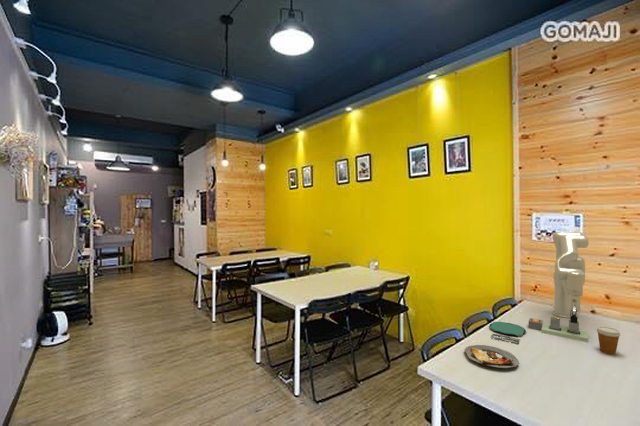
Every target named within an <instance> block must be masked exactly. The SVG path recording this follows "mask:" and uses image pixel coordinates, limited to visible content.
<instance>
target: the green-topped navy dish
mask: <svg viewBox="0 0 640 426" xmlns="http://www.w3.org/2000/svg"><path fill="white" fill-rule="evenodd" d="M489 329H490V330H491V331H493V332H496V333H500V334H496V333H492V334H491V337H490V338H491V339H490V340H495V341H499V340H502V342H505V341H506V343H509V342H511V343H510V344H515V345H519V344H520V341H521V339H520V338H521V337H523V336H524V335H525V334H526V333H527V330H526V329H525V327H523V326H521V325H519V324H514V323H510V322H505V321H493V322H491V323H489ZM502 334H503V335H502ZM507 335H508V336H507ZM497 336H498V337H497ZM511 336H517V337H518V338H515V337H511ZM494 337H495V338H494ZM500 337H501V339H500ZM492 338H494V339H492ZM502 338H503V339H502Z"/></svg>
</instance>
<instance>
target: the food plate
mask: <svg viewBox="0 0 640 426" xmlns="http://www.w3.org/2000/svg"><path fill="white" fill-rule="evenodd" d="M464 351H465V354H466V355H467V357H468V358H469V359H470V360H471V361H472V362H475V363H477V364H480V365H481V366H486V367H492V368H496V369H502V370H503V369H511V368H516V367H519V365H520V361H519V360H518V358H517V357H515V355H514V354H513V353H512V352H510V351H508V350H504V349H502V348H500V347H497V346H491V345H486V344H475V345H468V346H465V349H464ZM485 353H487V354H485ZM496 353H497V354H496ZM497 355H499V356H497ZM488 356H489V357H488ZM490 358H492V359H493V360H490Z"/></svg>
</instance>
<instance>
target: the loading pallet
mask: <svg viewBox="0 0 640 426" xmlns="http://www.w3.org/2000/svg"><path fill="white" fill-rule="evenodd" d="M532 319H534V318H532V317H530V318H529V319H528V329H531V330H535V331H540V332H541V333H542V334H547V335H550V336H551V335H552V336H556V337H560V338H561V337H562V338H566V339H572V340H576V341H580V342H584V343H585V342H586V343H588V342H589V333H588V330H585V329H580V328H579V334H574V333H569V326H563V325H560V331H558V330H553V329H550V323H548V322H544V320H542V319H538V318H536V319H537V320H539V322H534V321H532Z"/></svg>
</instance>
